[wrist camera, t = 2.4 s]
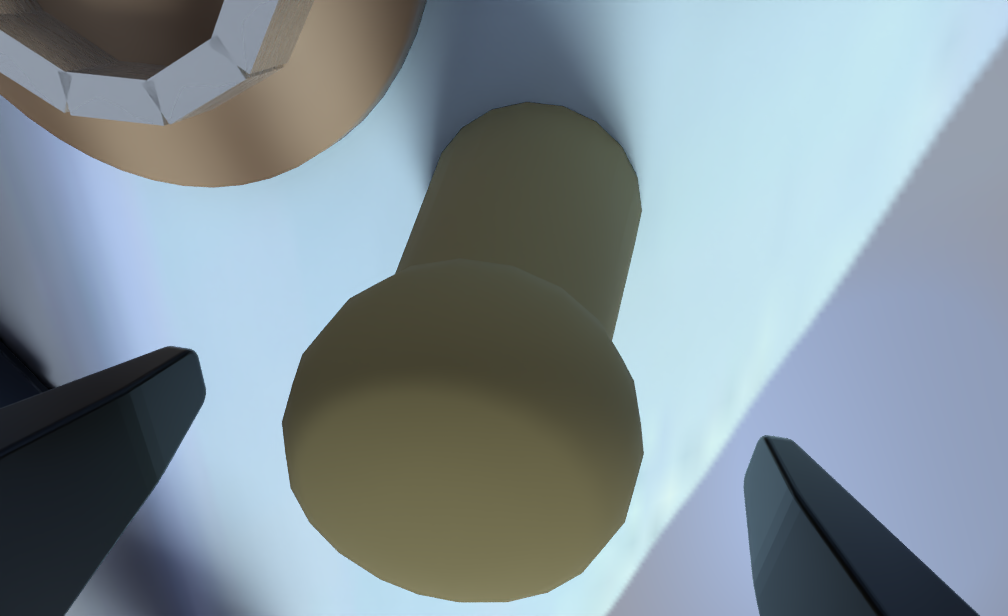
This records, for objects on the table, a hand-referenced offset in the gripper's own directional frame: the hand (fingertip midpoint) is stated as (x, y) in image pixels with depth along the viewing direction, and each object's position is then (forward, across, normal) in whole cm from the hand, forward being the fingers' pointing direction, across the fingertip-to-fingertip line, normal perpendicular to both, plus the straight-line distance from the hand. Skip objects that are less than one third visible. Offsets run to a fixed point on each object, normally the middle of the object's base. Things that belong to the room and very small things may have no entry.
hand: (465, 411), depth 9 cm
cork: (+9, 0, 0) cm, 9 cm away
